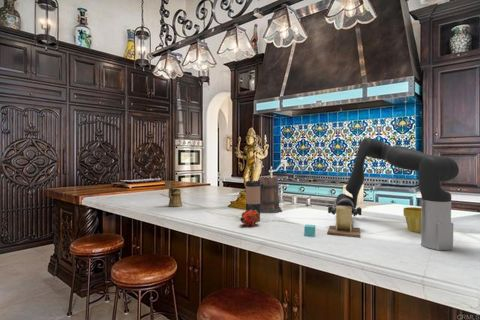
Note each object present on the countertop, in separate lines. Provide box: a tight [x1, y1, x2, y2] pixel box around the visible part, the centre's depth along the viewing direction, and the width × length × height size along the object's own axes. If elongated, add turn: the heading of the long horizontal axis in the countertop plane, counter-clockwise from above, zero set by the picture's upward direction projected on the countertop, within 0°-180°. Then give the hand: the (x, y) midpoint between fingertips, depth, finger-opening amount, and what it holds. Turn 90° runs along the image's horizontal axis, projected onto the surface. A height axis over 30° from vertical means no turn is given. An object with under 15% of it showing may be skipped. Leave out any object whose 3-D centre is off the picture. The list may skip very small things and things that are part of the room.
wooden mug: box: [163, 179, 183, 208], centre depth 195 cm, size 9×14×18 cm, turn 151°
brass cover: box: [335, 205, 353, 232], centre depth 131 cm, size 6×6×10 cm
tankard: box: [259, 176, 283, 214], centre depth 179 cm, size 24×17×20 cm
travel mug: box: [245, 180, 261, 220], centre depth 157 cm, size 8×8×20 cm
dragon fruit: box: [239, 209, 261, 227], centre depth 143 cm, size 8×8×12 cm
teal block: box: [303, 224, 316, 238], centre depth 127 cm, size 4×4×4 cm
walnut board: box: [326, 225, 361, 238], centre depth 131 cm, size 13×13×1 cm
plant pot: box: [403, 206, 421, 233], centre depth 134 cm, size 10×10×10 cm
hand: (344, 213), depth 131 cm, fingers open, 8 cm apart
